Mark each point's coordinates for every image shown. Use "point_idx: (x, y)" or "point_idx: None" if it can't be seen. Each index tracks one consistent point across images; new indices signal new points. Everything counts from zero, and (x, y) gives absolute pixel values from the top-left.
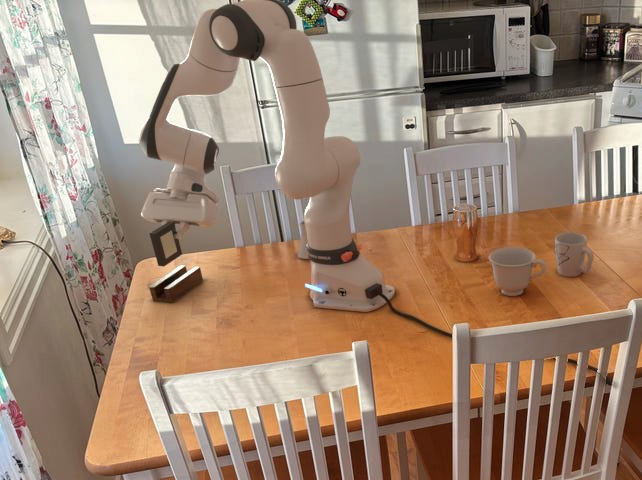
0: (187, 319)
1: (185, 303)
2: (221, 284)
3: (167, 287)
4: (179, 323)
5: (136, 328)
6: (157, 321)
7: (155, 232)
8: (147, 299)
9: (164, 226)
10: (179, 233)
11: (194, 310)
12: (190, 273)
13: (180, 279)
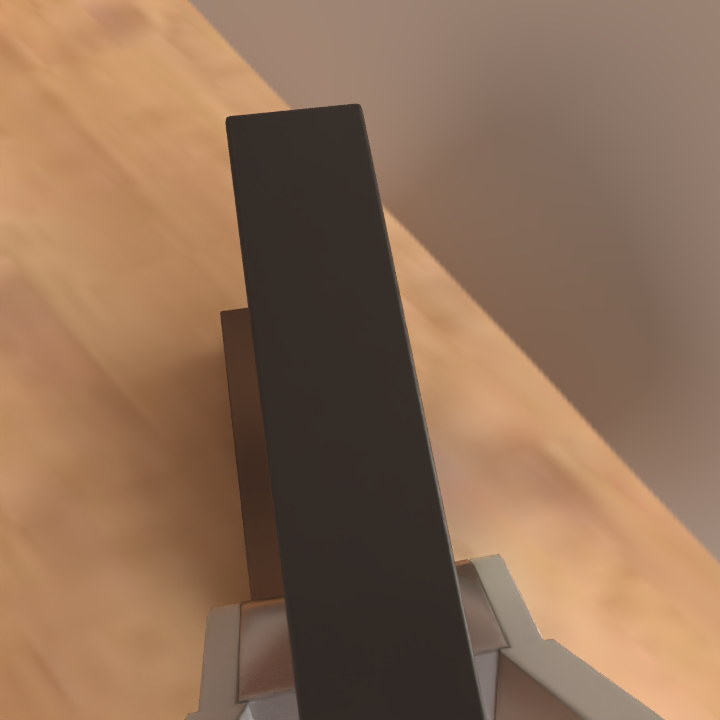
0: (16, 226)
1: (156, 367)
2: (95, 695)
3: (248, 327)
4: (32, 181)
5: (217, 85)
6: (165, 162)
7: (272, 164)
8: (414, 329)
9: (344, 490)
10: (205, 696)
11: (43, 317)
12: (252, 586)
13: (252, 464)
